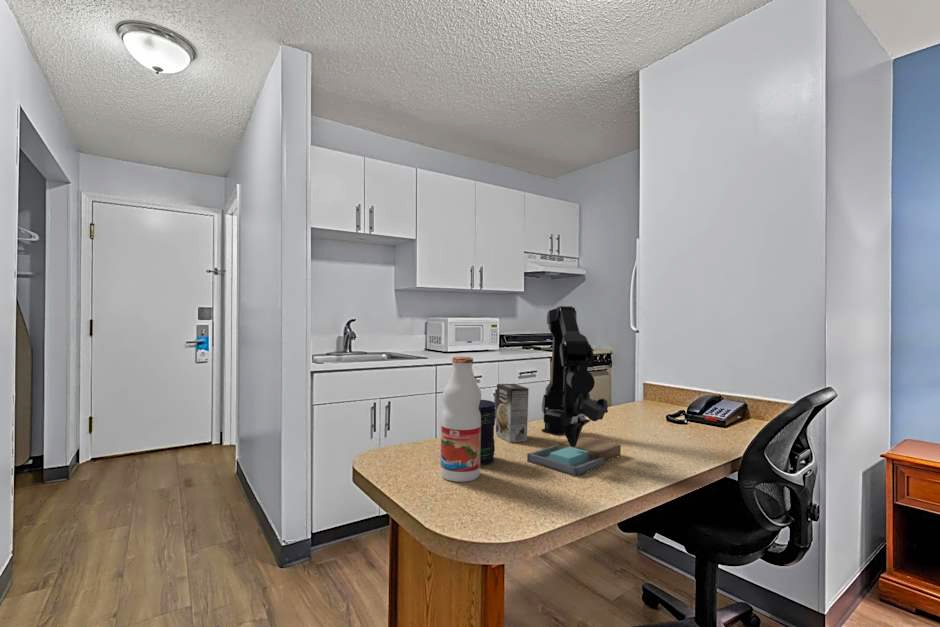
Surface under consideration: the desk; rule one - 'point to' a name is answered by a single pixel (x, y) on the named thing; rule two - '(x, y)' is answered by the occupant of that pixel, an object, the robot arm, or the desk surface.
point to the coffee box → (512, 412)
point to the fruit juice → (461, 424)
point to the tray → (544, 460)
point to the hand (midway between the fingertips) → (572, 446)
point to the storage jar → (487, 431)
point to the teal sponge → (569, 456)
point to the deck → (596, 448)
